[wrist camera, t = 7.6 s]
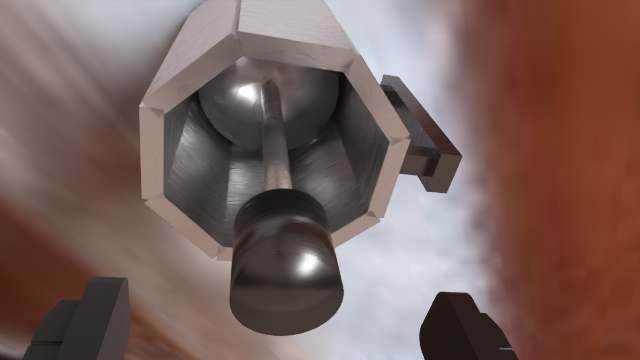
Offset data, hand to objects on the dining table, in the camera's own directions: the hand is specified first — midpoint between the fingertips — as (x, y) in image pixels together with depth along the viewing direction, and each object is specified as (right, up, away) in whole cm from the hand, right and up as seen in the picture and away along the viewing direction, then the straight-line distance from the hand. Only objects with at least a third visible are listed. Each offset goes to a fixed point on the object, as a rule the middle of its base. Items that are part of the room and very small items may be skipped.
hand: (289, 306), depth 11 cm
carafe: (-1, +11, +17) cm, 21 cm away
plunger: (-2, +9, +13) cm, 16 cm away
